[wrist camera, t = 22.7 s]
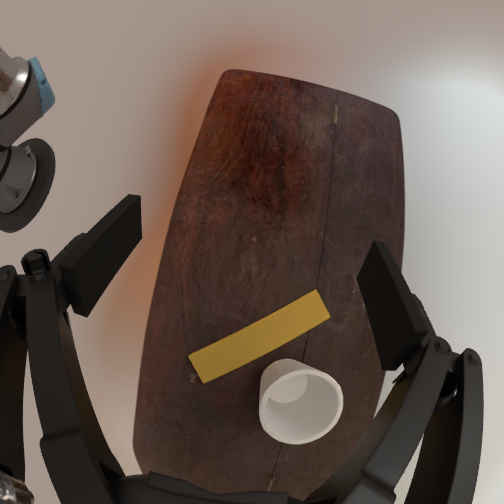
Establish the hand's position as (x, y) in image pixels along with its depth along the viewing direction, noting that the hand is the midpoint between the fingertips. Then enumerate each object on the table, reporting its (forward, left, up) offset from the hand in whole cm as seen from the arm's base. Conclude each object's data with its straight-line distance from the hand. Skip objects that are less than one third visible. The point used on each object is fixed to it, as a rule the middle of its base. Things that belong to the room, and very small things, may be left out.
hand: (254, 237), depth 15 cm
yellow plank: (+3, -9, -28) cm, 29 cm away
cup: (+7, -16, -28) cm, 33 cm away
